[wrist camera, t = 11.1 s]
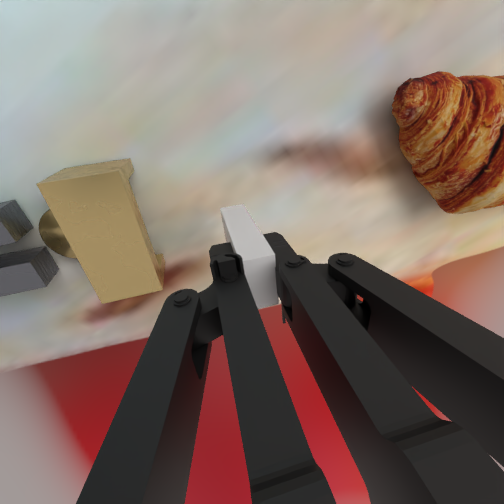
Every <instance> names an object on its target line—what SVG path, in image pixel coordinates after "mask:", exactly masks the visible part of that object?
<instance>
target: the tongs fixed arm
mask: <svg viewBox="0 0 504 504" xmlns="http://www.w3.org/2000/svg"><path fill="white" fill-rule="evenodd" d="M39 232H40V235H41V237H42V239H43V241H44V242H45V243H46V245H47V246H48V247H49V248H51V249H52V250H53V251H55V252H57V253H58V254H61V255H63V256H66V257H70V258H77V257H76V255H75V253H74V251H73V250H72V248H71V246H70V244H69V242H68V241H67V239H66V237H65V235H64V233H63V231H62V230H61V228H60V226H59V224H58V222H57V220H56V219H55V217H54V215H53V213H52V211H51V210H50V209H49V210H48V211H47V212H46V213H45V214H44V215H43V216H42V218H41V219H40V222H39ZM58 270H59V268H58V266H57V265H56V263H55V262H54V260H53V258H52V257H51V255H50V253H49V252H48V250H47V248H46V247H45V246H44V247H39V248H34V249H29V250H23V251H18V252H13V253H8V254H3V255H0V296H5V295H10V294H14V293H19V292H24V291H28V290H33V289H38V288H42V287H46V286H47V285H48V284H49V282H50V281H51V280H52V278H53V277H54V276H55V274H56V273H57V271H58Z"/></svg>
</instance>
